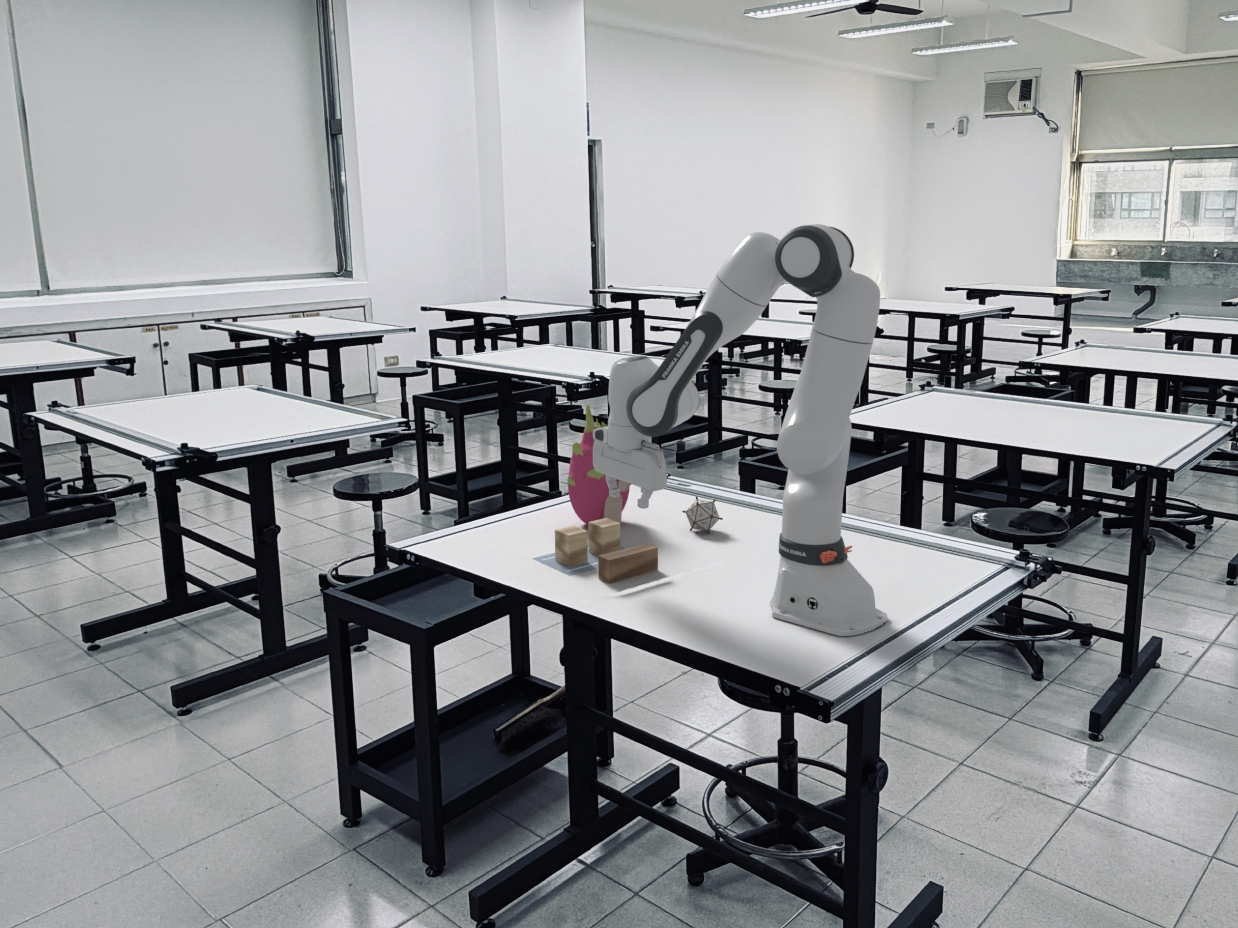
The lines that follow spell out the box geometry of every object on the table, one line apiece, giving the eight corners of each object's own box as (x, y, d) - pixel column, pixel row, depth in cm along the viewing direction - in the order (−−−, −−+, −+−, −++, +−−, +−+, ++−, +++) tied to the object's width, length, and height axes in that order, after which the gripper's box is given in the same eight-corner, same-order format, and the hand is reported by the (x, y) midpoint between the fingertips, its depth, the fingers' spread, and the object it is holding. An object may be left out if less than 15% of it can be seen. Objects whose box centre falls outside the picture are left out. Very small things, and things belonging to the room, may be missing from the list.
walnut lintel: (657, 574, 216) (658, 547, 214) (608, 588, 208) (608, 560, 207) (647, 569, 218) (647, 543, 217) (598, 583, 211) (598, 555, 209)
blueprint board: (643, 559, 225) (643, 555, 224) (569, 579, 212) (569, 575, 212) (604, 543, 235) (604, 540, 235) (532, 561, 223) (532, 558, 223)
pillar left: (587, 561, 221) (587, 530, 219) (568, 566, 217) (568, 535, 216) (574, 556, 224) (573, 525, 223) (555, 560, 221) (554, 529, 220)
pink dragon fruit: (587, 540, 237) (586, 413, 230) (553, 527, 248) (551, 405, 240) (646, 526, 248) (646, 404, 241) (611, 513, 258) (610, 396, 251)
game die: (709, 544, 246) (735, 513, 244) (693, 541, 239) (720, 509, 237) (685, 520, 250) (710, 489, 248) (669, 516, 243) (695, 484, 241)
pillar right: (620, 553, 226) (620, 523, 224) (602, 558, 223) (602, 527, 221) (606, 547, 230) (606, 517, 228) (588, 552, 227) (588, 522, 225)
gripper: (675, 444, 200) (673, 511, 204) (612, 425, 216) (611, 488, 219) (650, 448, 196) (648, 517, 200) (587, 429, 212) (587, 493, 216)
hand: (628, 502), depth 210 cm, fingers open, 8 cm apart
